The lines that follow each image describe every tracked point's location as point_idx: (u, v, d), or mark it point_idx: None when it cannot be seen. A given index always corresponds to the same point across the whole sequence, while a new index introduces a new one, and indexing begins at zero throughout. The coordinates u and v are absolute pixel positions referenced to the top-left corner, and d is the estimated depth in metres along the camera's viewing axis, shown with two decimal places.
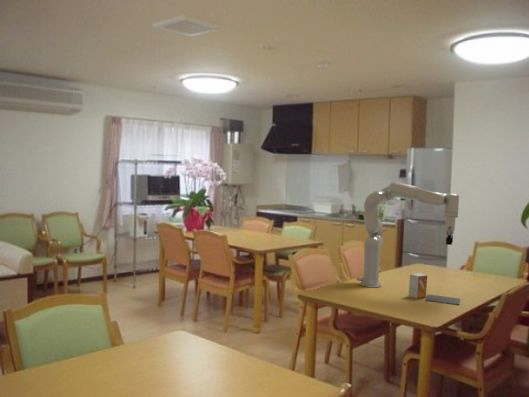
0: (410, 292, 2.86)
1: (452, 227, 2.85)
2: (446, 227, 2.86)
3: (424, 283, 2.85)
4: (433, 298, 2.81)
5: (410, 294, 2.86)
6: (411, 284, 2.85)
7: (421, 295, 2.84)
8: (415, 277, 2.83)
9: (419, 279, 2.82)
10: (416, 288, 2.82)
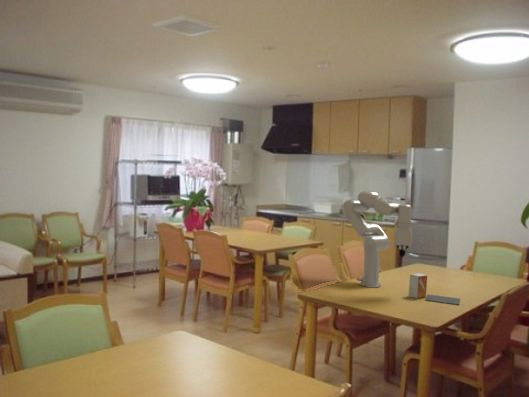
0: (410, 292, 2.86)
1: None
2: (411, 239, 2.85)
3: (424, 283, 2.85)
4: (433, 298, 2.81)
5: (410, 294, 2.86)
6: (411, 284, 2.85)
7: (421, 295, 2.84)
8: (415, 277, 2.83)
9: (419, 279, 2.82)
10: (416, 288, 2.82)
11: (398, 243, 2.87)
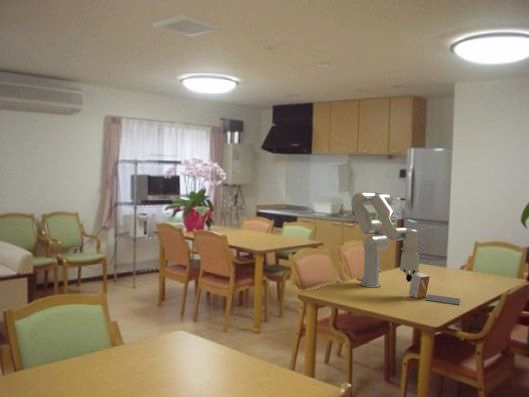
0: (411, 291, 2.85)
1: None
2: (418, 264, 2.84)
3: (426, 283, 2.84)
4: (433, 298, 2.81)
5: (410, 293, 2.85)
6: (412, 283, 2.84)
7: (421, 295, 2.83)
8: (417, 277, 2.82)
9: (421, 280, 2.81)
10: (417, 288, 2.82)
11: (405, 268, 2.86)
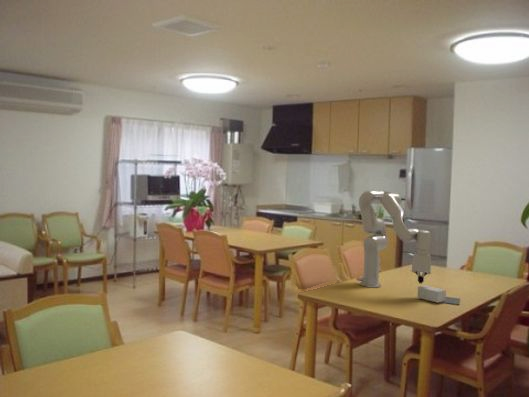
0: (421, 290, 2.80)
1: None
2: (430, 265, 2.81)
3: None
4: None
5: (419, 289, 2.81)
6: (428, 292, 2.76)
7: None
8: (435, 298, 2.73)
9: None
10: (425, 297, 2.78)
11: (416, 270, 2.83)
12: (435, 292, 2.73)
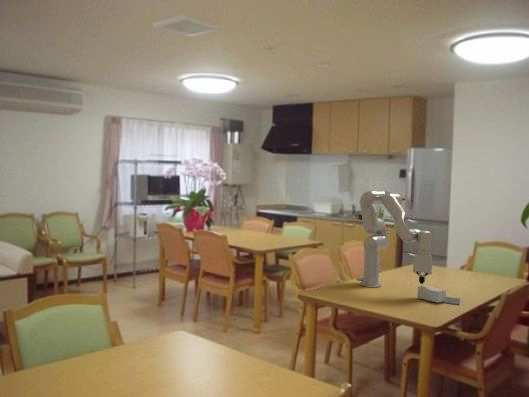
0: (421, 290, 2.80)
1: None
2: (431, 266, 2.81)
3: None
4: None
5: (419, 289, 2.81)
6: (428, 292, 2.76)
7: None
8: (435, 298, 2.73)
9: None
10: (425, 297, 2.78)
11: (418, 270, 2.83)
12: (435, 292, 2.73)
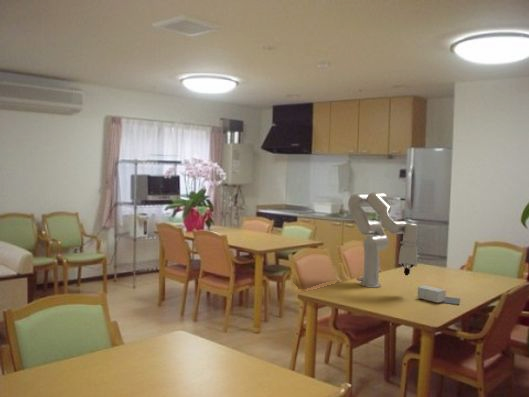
0: (421, 290, 2.80)
1: None
2: (416, 258, 2.84)
3: None
4: None
5: (419, 289, 2.81)
6: (428, 292, 2.76)
7: None
8: (435, 298, 2.73)
9: None
10: (425, 297, 2.78)
11: (403, 262, 2.87)
12: (435, 292, 2.73)
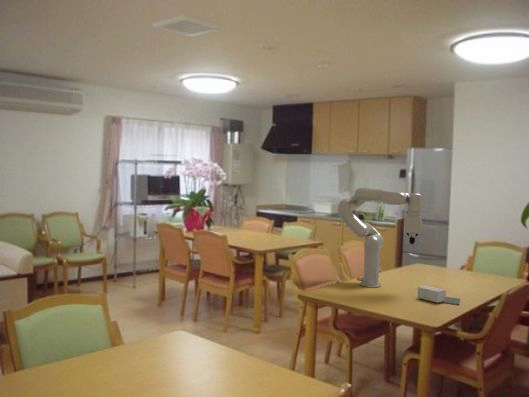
0: (421, 290, 2.80)
1: None
2: (421, 226, 2.93)
3: None
4: None
5: (419, 289, 2.81)
6: (428, 292, 2.76)
7: None
8: (435, 298, 2.73)
9: None
10: (425, 297, 2.78)
11: (408, 231, 2.95)
12: (435, 292, 2.73)
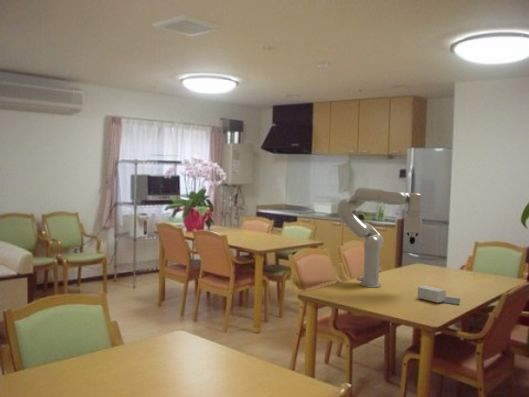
0: (421, 290, 2.80)
1: None
2: (421, 226, 2.93)
3: None
4: None
5: (419, 289, 2.81)
6: (428, 292, 2.76)
7: None
8: (435, 298, 2.73)
9: None
10: (425, 297, 2.78)
11: (408, 231, 2.95)
12: (435, 292, 2.73)
